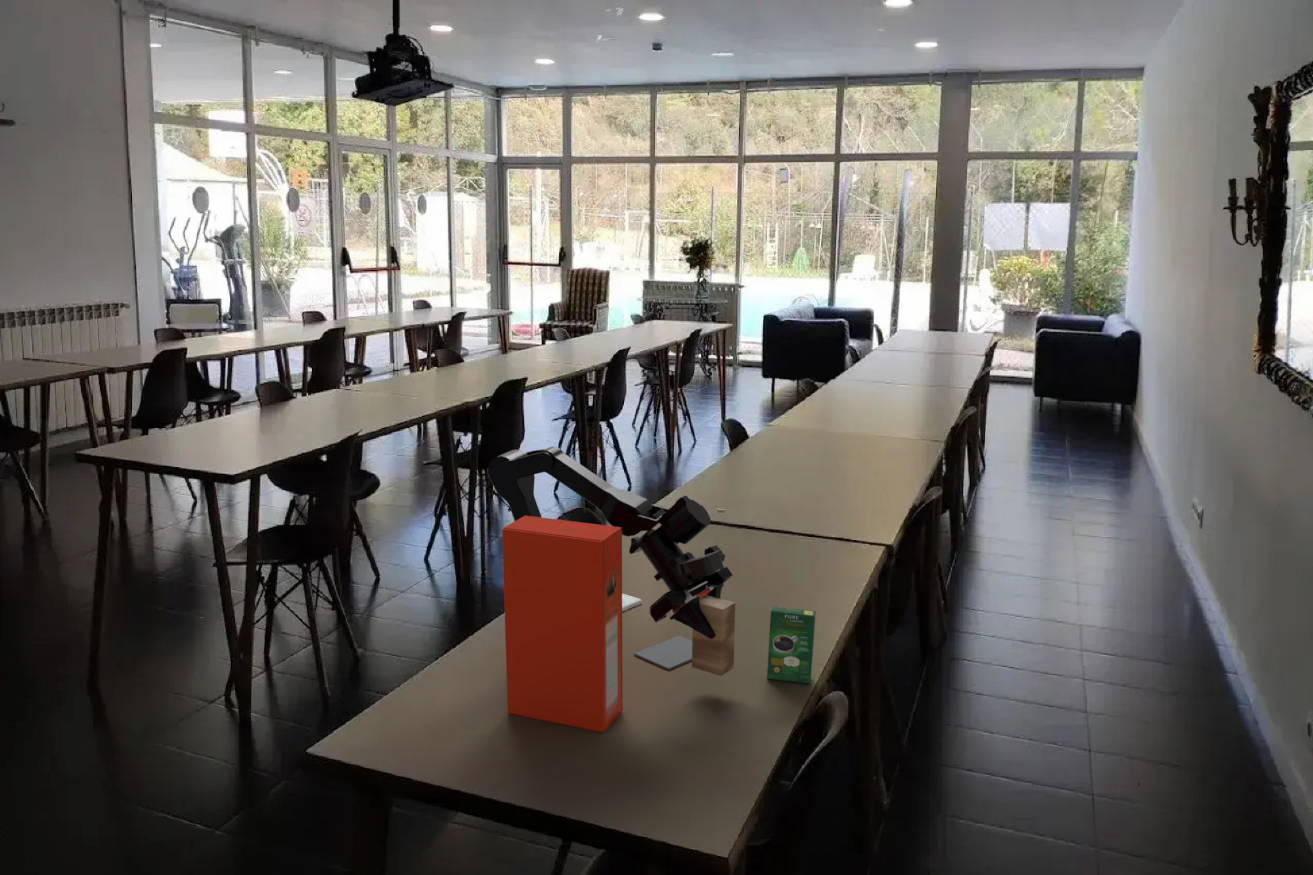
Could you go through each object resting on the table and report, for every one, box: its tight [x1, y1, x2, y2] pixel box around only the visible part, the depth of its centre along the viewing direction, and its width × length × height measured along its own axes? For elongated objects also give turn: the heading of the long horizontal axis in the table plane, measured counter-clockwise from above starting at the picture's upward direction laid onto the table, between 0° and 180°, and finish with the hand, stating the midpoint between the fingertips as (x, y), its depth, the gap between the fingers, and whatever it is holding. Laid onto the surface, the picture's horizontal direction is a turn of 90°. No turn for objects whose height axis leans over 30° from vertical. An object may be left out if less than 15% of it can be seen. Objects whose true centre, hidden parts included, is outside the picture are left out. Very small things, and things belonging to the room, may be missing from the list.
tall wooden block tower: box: [691, 595, 736, 677], centre depth 175 cm, size 4×6×12 cm, turn 55°
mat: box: [633, 635, 692, 671], centre depth 192 cm, size 12×9×1 cm
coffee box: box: [766, 605, 816, 685], centre depth 180 cm, size 8×3×13 cm, turn 77°
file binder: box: [501, 516, 624, 733], centre depth 165 cm, size 8×17×32 cm, turn 69°
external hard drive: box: [622, 592, 642, 613], centre depth 215 cm, size 2×8×12 cm
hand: (720, 633), depth 174 cm, fingers closed on tall wooden block tower, 4 cm apart
